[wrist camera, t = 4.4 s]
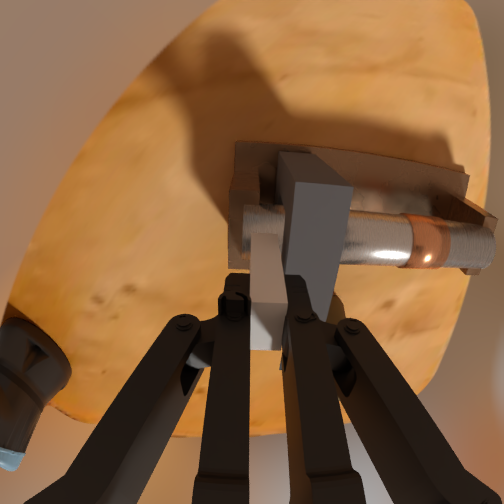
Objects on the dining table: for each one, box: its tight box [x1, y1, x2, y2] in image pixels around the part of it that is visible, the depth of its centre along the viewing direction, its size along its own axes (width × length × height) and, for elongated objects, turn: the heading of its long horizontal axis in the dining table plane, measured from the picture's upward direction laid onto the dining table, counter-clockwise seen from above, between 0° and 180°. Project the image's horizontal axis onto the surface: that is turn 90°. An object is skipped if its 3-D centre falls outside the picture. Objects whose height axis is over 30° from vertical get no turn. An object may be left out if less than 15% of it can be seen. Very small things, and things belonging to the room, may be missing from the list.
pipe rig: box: [228, 141, 498, 275], centre depth 23 cm, size 24×11×9 cm, turn 87°
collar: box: [275, 151, 354, 322], centre depth 21 cm, size 3×10×10 cm, turn 177°
